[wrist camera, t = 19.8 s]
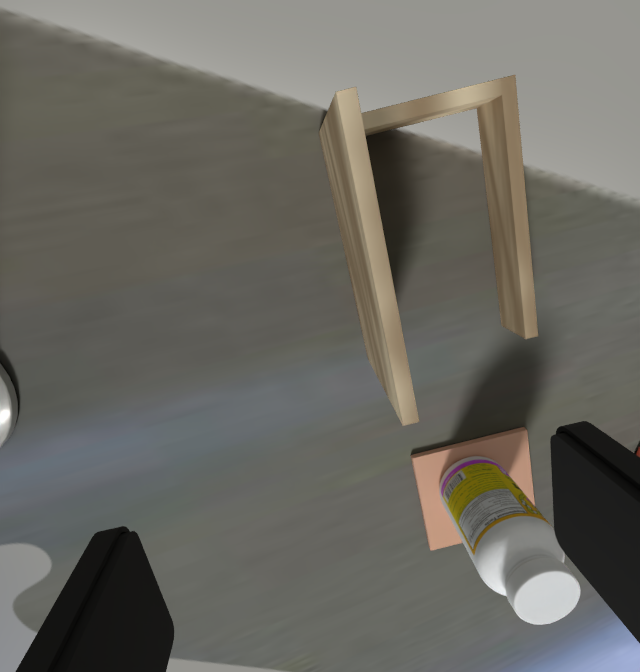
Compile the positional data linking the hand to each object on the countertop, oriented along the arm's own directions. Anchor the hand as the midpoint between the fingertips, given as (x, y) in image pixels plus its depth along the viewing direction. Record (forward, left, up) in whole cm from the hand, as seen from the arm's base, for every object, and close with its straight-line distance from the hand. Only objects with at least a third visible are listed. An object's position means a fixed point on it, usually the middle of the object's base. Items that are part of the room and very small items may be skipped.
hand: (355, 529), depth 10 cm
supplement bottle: (+11, -22, -27) cm, 36 cm away
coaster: (+11, -23, -27) cm, 37 cm away
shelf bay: (+10, +2, -27) cm, 29 cm away
